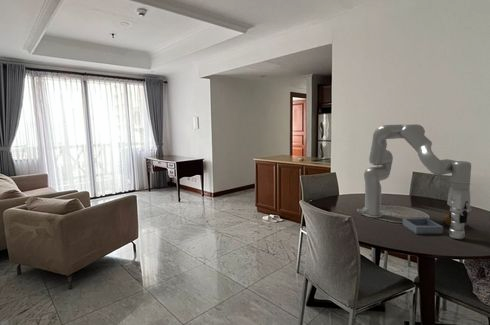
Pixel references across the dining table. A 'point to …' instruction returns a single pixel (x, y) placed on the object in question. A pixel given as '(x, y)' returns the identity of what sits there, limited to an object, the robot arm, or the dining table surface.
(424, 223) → the tray
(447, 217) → the bread roll
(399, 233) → the dining table surface
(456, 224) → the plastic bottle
